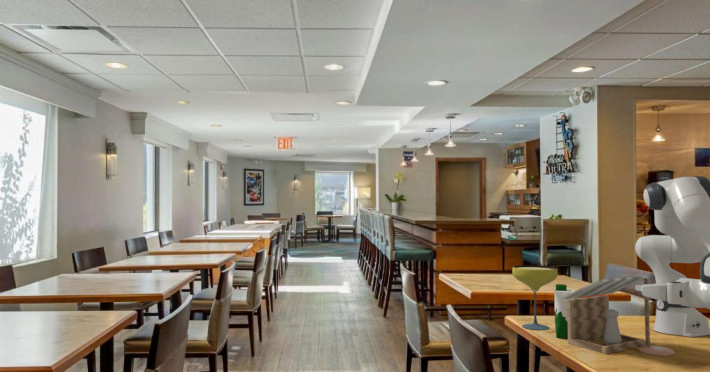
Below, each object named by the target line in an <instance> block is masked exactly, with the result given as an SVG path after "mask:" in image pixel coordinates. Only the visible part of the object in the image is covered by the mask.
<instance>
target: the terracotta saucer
mask: <svg viewBox="0 0 710 372" xmlns="http://www.w3.org/2000/svg"><path fill="white" fill-rule="evenodd" d="M637 351H638V352H640V353H641V354H646V355H650V356H656V357H673V356H675V351H674V350H673V349H671V348H668V347H664V346H659V345H651V344H650V345H646V344H645V345H644V346H638V347H637Z"/></svg>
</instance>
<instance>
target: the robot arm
mask: <svg viewBox="0 0 710 372" xmlns="http://www.w3.org/2000/svg"><path fill="white" fill-rule="evenodd" d="M642 196H643V201H644V203H645V204H646V206H647V208H649V210H652V211H654V212H653V213H654V225H655V227H656V229H657V230H658V231H659V232H660V233H662V234H664V235H661V234H659V235H658V234H652V235H643V236H639V238H638V239H637V241H636V242H635V245H634V248H635V253H636V255H637V256H638V258H639V259H640V260H642V261H643V262H645V263H646V264H647V266H649V268H650V269H651V271H652V272H653V275H654V277H655V278H654V280H655V283H651V284H650V283H648V284H647V285H644V284H636V285H635V287H634V288H635V289H634V290H636V291H637V292H638V291H639V292H641V295H642V296H643V297H644V296H645V297H648V298H649V299H653V300H655V305H656V309H655V310H656V311H655V321H654V325H653V328H652V330H654V331H655V332H658V333H661V334H667V335H674V336H683V337H690V338H694V337H705V336H710V324H709V320H708V318H707V317H706V316H705V315H704V314H703V313H701V312H699V310H697V309H704V308H705V309H708V310H710V179H709V178H707V177H706V176H701V175H694V176H681V177H675V178H671V179H666V180H661V181H658V182H652V183H648V184H647V185H645V187H644V189H643V195H642ZM671 263H674V264H675V263H677V264H680V263H681V264H695V263H700V264H699V279H697V278H688V277H687V276H686V275H685V274H683V273H681V272H680V271H677V270H675V269H673V268H672V267H671V266H670V264H671Z"/></svg>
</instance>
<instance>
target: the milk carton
mask: <svg viewBox="0 0 710 372" xmlns="http://www.w3.org/2000/svg"><path fill="white" fill-rule="evenodd" d="M576 290H577V289H576ZM576 290H575V289H571V288H570V289H569V288H567V284H561V283H558V284H557V283H555V290H554V327H555V328H554V329H555V338H556V339H563V340H568V315H567V300H570V299H579V298H581V297H577V298H568V299H563V297H564V296H566V295H568V294H570V293H572V292H574V291H576Z"/></svg>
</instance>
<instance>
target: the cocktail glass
mask: <svg viewBox="0 0 710 372" xmlns="http://www.w3.org/2000/svg"><path fill="white" fill-rule="evenodd" d="M558 273H559V272H558V268H557V267H553V266H547V265H529V264H527V265H526V264H524V265H523V264H522V265H514V266H512V276H513V277H514V278H515V279H516V280H517V281H518V282H521V283H522V284H525V285H526V286H528V287H529V288H530V290H531V291H532V292H533V293H534V294H533V298H534V301H533V302H534V307H533V308H534V309H533V310H534V312H533V313H534V314H533V315H534V316H533V322H532V323H525V324H522V325H521V327H522V328H524V329H527V330H530V331H531V330H532V331H547V330H549V329H550V327H549V326H547V325H544V324H541V323H538V320H537V318H538V317H537V297H536V295H537V292H538V291H539V290H540V289H541V288H542V287H543V286H546V285H548V284H550V283H552V282H554V281H555V280H556V279H557V278H558V275H559V274H558Z"/></svg>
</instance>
